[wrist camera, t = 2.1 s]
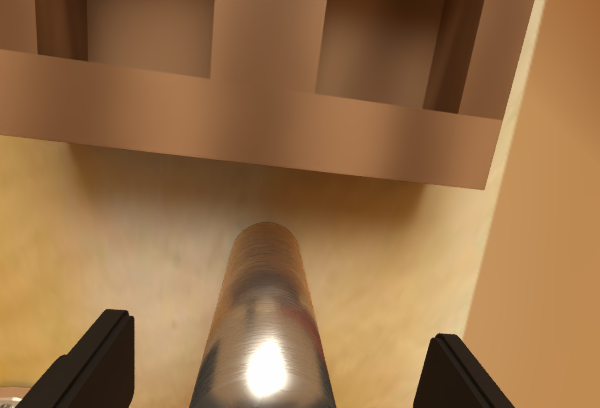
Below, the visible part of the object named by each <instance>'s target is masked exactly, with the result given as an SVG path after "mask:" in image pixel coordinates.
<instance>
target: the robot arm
mask: <svg viewBox="0 0 600 408" xmlns="http://www.w3.org/2000/svg"><path fill="white" fill-rule="evenodd" d="M133 394H134V317H133V316H129V313H128V311H127V310H114V309H106V310H105V311H104V312H103V313H102V314H101V315H100V317H99V318H98V319H97V320H96V321H95V323H94V324H93V325H92V326H91V327H90V328H89V330H88V331H87V332H86V333H85V334H84V335H83V337H82V338H81V339H80V340H79V341H78V343H77V344H76V345H75V346H74V347H73V348H72V350H71V351H70V352H69V353H68V354H67V355H62V356H60V357H59V358H58V359H57V360H56V361H55V362H54V363H53V364H52V365H51V366H50V367H49V369H48V370H47V371H46V372H45V373H44V374H43V375H42V377H41V378H40V379H39V380H38V381H37V382H36V383H35V385H34V386H33V387H32V388H26V387H0V408H128V407H129V405H130V403H131V401H132V398H133ZM413 408H515V407H514V406H513V405H512V404H511V402H510V401H509V400H508V399H507V398H506V396H505V395H504V393H503V392H502V391H501V390H500V388H499V387H498V386H497V385H496V383H495V382H494V381H493V380H492V378H491V377H490V376H489V374H488V373H487V372H486V371H485V369H484V368H483V367H482V366H481V364H480V363H479V362H478V361H477V359H476V358H475V357H474V355H473V354H472V353H471V352H470V351H469V349H468V348H467V347H466V345H465V344H464V343H463V342H462V340H461V339H460V338H459V337H458V336H457V335H455V334H441V333H439V334H437V335H436V336H435V338H432V339H431V340H430V344H429V347H428V351H427V355H426V358H425V362H424V366H423V369H422V373H421V377H420V380H419V384H418V388H417V392H416V395H415V399H414V403H413Z"/></svg>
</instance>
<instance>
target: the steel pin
mask: <svg viewBox="0 0 600 408" xmlns="http://www.w3.org/2000/svg"><path fill="white" fill-rule="evenodd" d="M189 408H336V405H335V400H334V396H333V392H332V387H331V383H330V379H329V374H328V370H327V366H326V362H325V357H324V353H323V349H322V344H321V340H320V336H319V331H318V327H317V323H316V319H315V314H314V310H313V306H312V301H311V297H310V293H309V288H308V284H307V280H306V276H305V271H304V267H303V263H302V258H301V254H300V250H299V245H298V243H297V240H296V239H295V237H294V236H293V234H292V233H291V232H290V231H289V230H287V229H286V228H284V227H283V226H280V225H278V224H275V223H258V224H254V225H252V226H250V227H248V228H246V229H245V230H243V231H242V232H241V233H240V234H239V236H238V237H237V238H236V240H235V242H234V245H233V248H232V252H231V255H230V259H229V263H228V266H227V270H226V274H225V277H224V281H223V285H222V288H221V292H220V296H219V299H218V303H217V307H216V311H215V314H214V318H213V322H212V325H211V329H210V333H209V336H208V340H207V344H206V347H205V351H204V355H203V359H202V362H201V366H200V370H199V373H198V377H197V381H196V384H195V388H194V392H193V395H192V399H191V403H190V406H189Z"/></svg>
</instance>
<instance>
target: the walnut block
mask: <svg viewBox="0 0 600 408" xmlns="http://www.w3.org/2000/svg"><path fill="white" fill-rule="evenodd" d="M533 4H534V0H0V135H5V136H14V137H23V138H32V139H40V140H49V141H58V142H67V143H75V144H84V145H93V146H102V147H110V148H119V149H128V150H137V151H145V152H154V153H163V154H172V155H180V156H189V157H198V158H207V159H215V160H224V161H233V162H242V163H250V164H259V165H268V166H277V167H285V168H294V169H303V170H312V171H320V172H329V173H338V174H347V175H355V176H364V177H373V178H382V179H390V180H399V181H408V182H417V183H425V184H434V185H443V186H452V187H460V188H469V189H478V190H484V189H485V186H486V182H487V178H488V174H489V170H490V167H491V163H492V159H493V155H494V151H495V148H496V144H497V140H498V136H499V133H500V129H501V125H502V121H503V117H504V114H505V110H506V106H507V102H508V99H509V95H510V91H511V87H512V83H513V80H514V76H515V72H516V68H517V64H518V61H519V57H520V53H521V49H522V46H523V42H524V38H525V34H526V30H527V27H528V23H529V19H530V15H531V11H532V8H533Z"/></svg>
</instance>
